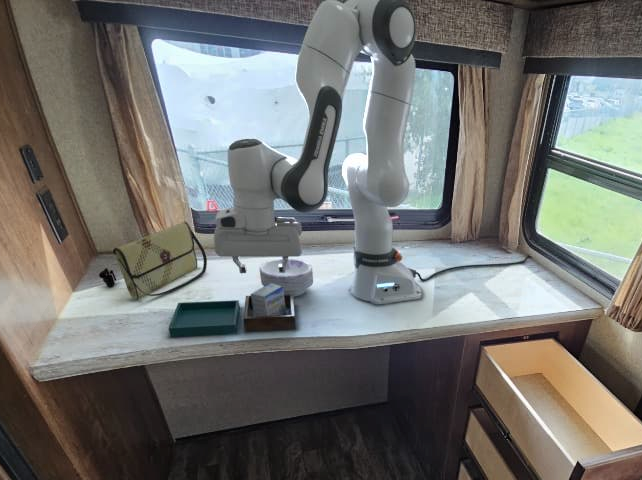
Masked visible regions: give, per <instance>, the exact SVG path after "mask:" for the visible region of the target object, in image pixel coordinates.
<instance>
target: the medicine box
mask: <svg viewBox="0 0 642 480" xmlns="http://www.w3.org/2000/svg"><path fill="white" fill-rule="evenodd" d="M250 296H251V299H252V304H253V309H254V310H253V313H254V317H261V316H281V315H287V308H286V307H285V300H284V292H283V287H282V286H279V285H275V284H268V285H266V286H265V287H264V286H263V287H261V288H259V289H257V290H255V291H254V292H252V293H250Z"/></svg>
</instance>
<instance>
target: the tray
mask: <svg viewBox="0 0 642 480" xmlns="http://www.w3.org/2000/svg"><path fill="white" fill-rule="evenodd" d="M240 315H241V304H240V301H239V299H234V300H233V299H231V300H213V301H209V300H208V301H187V302H186V301H184V302H177V304H176V307H175V309H174V312H173V315H172V318H171V321H170V323H169V326H168V332H169V335H170V337H171V338H183V337H201V336H202V337H203V336H219V335H233V334H235V335H236V334H238V330H239V329H238V328H239V321H240Z"/></svg>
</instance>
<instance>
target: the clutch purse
mask: <svg viewBox="0 0 642 480" xmlns="http://www.w3.org/2000/svg"><path fill="white" fill-rule="evenodd" d="M195 243H196V245H197V247H198V248H199V250H200V252H201V255H202V258H203V259H202V260H203V265H202V270H201V271H200V272H199V273H198V274H197V275H196V276H194V277H193V278H191V279H189V280H188V281H186V282H184V283H182V284H179V285H177V286H175V287H173V288H170V289H167V290H165V291H162V292H159V293H153V294H152V292H154V291H156V290H157V289H159V288H161V287H163V286H165V285H167V284H169V283H170V282H172V281H174V280H176V279H178V278H180V277H182V276H184V275H186V274H187V273H189V272H191V271H193V270H197V268H198V259H197V254H196V251H195ZM112 254H113V258H114V259H115V260H116V261H117V263H118V266H119V269H120V272H121V274H122V278H123V280H124V283H125V286H126V288H127V291H128V293H129V295H130V297H131V298H132V299H133V300H134V301H138V300H139V299H140V298H142V297H144V296H149V297H157V296H163V295H166V294H168V293H171V292H173V291H176V290H178V289H180V288H183V287H186V286H187V285H189V284H191V283H192V282H194V281H196V280H198V279H199V278H200V277H201V276H203V275H204V274H205V273H206V271H207V265H208V258H207V255H206V252H205V249H204V247H203V245H202V244H201V242H200V240H199V239H198V238H197V237H196V234H194V231H193V230H192V226H191V225H190V224H189V223H188V222H187V221H182V222H179V223H177V224H174V225H172V226H170V227H167V228H164V229H162V230H159V231H156V232H154V233H151V234H148V235H146V236H143V237H140V238H139V239H136V240H134V241H131V242H128V243H125V244H123V245H121V246H118V247H114V248H113V252H112ZM150 293H151V294H150Z"/></svg>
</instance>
